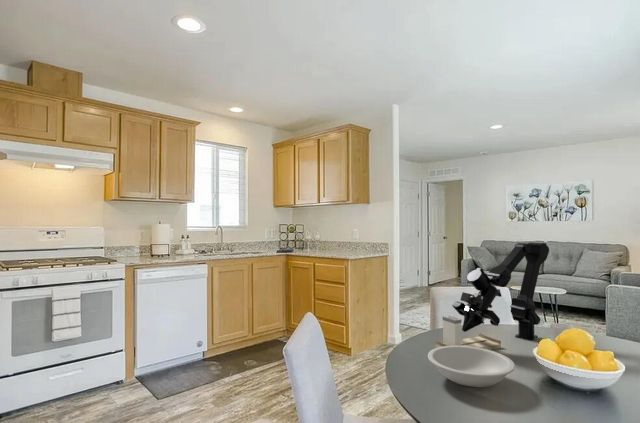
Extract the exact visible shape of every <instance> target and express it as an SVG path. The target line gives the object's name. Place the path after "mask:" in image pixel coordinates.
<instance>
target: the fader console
mask: <svg viewBox="0 0 640 423" xmlns="http://www.w3.org/2000/svg"><path fill="white" fill-rule="evenodd" d="M443 346H448V345H446V344H443V342H441V341H439V340H435V348H438V347H443ZM461 346H470V347H477V348H483V349H487V350H491V351H493V350H496V349H501V348H502V341H501V340H498V339H497V338H493V337H491V336H488V335H486V334H482V333H478V336H475V337H473V336H472V337H469V338H468V337H467V338H461Z"/></svg>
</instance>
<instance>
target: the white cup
mask: <svg viewBox="0 0 640 423" xmlns="http://www.w3.org/2000/svg"><path fill="white" fill-rule="evenodd" d="M569 328H576V329H577V327H576V326H575V325H572V324H567V323H560V322H558V323H557V322H556V323H555V322H554V323H550V324H549V330H550V332H549V333H550V341H551V340H553V341H554V340H555V338H556V337H557V336H558V335H559V334H560V333H562V331H563V330H565V329H569Z"/></svg>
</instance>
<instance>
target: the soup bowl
mask: <svg viewBox="0 0 640 423" xmlns="http://www.w3.org/2000/svg"><path fill="white" fill-rule="evenodd" d="M427 353H428V354H427V358H428V361H429V362H430V363H431V364H433V365H434V366H435V367H436V369H437V370H438V371H439V373H440V374H441V375H443V377H445V378H446V379H448V380H449V381H452V382H454V383H456V384H458V385H461V386H465V387H466V386H467V387H471V388H485V387H490V386H493V385H496V384H498V383H500V382H501V381H503V380H504V378H506V376H507V375H509V374H511V373H512V372H514V371H515V368H516V365H515V363H514V361H513V360H512V359H511V358H509V357H508V356H506V355H504V354H502V353H499V352H497V351H493V350H487V349H483V348H477V347H470V346H443V347H438V348H436V347H435V348H433V349H431V350H430V351H429V352H427Z"/></svg>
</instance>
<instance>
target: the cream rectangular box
mask: <svg viewBox="0 0 640 423" xmlns="http://www.w3.org/2000/svg"><path fill="white" fill-rule="evenodd" d="M462 323H463V322H462V319H461V318H458V317H455V316H451V315H443V316H442V341H443V342H442V343H443V344H446V345H448V346H461V339H462Z"/></svg>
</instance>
